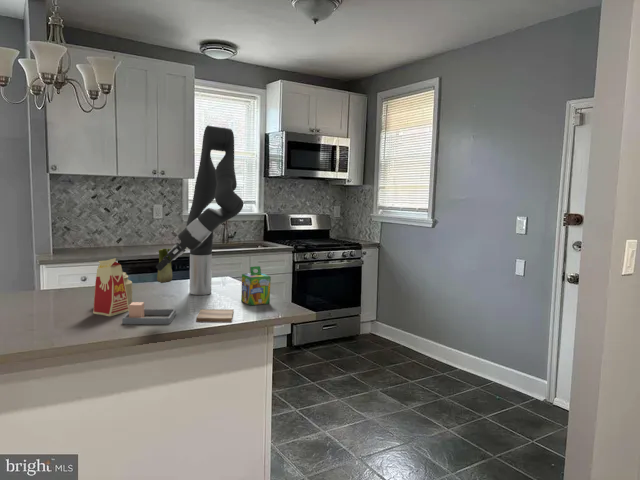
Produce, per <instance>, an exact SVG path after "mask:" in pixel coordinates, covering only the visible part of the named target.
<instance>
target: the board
mask: <svg viewBox="0 0 640 480" xmlns="http://www.w3.org/2000/svg"><path fill="white" fill-rule="evenodd" d="M233 316H234V309H229V308H228V309H227V308H226V309H225V308H223V309H216V308H215V309H214V308H213V309H211V308H210V309H209V308H208V309H205V308H204V309H203V308H202V309H200V310H199V312H198V313H197V316H196V319H195V322H196V323H197V322H202V323H203V322H207V323H208V322H216V323H217V322H220V323H221V322H227V323H228V322H229V323H231V322H233V321H232V320H233Z"/></svg>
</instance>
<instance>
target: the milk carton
mask: <svg viewBox="0 0 640 480" xmlns="http://www.w3.org/2000/svg"><path fill="white" fill-rule="evenodd" d="M116 260H117V258H116V257H114V258H111V259H107V260H98V261H97V262H98V263H99V264H98V267H97V268H96V273H95V274H96V276H95V282H94V283H95V284H94V296H93V311H92V312H93V314H94V315H100V316H105V317H113V316H116V315H120V314H124V313H126V312H127V313H128V312H129V305H128V298H127V293H126V287H125V282H124V277H123V272H124V271H123V268H122V264H120V263H119V262H117V261H116Z"/></svg>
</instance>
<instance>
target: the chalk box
mask: <svg viewBox="0 0 640 480" xmlns="http://www.w3.org/2000/svg"><path fill="white" fill-rule="evenodd" d="M249 268H250V270H249V271H250V273H249V272H248V273H242V274H241V297H240V298H241V302H243V303H244V304H247V305H249V306H257V305H259V306H260V305H270V302H271V278H272V277H271V276H270V275H268V274H266V273H262V268H261V266H260V265H257V266H250V267H249ZM255 270H257V272H255Z"/></svg>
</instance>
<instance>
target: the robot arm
mask: <svg viewBox="0 0 640 480" xmlns="http://www.w3.org/2000/svg"><path fill="white" fill-rule="evenodd" d="M203 131H204V132H203V135H202V136H203V137H202V144H201V145H202V146H201V153H200V161H199V165H198V171H197V175H196V180H195V185H194V190H193V197H192V202H191V207H190V210H189V214H188V217H187V221H186V227H185V228H183V230H181V231H180V232H179V233H178V235H177V238H178V239H179V241H180V242H177V243H175V244H174V245H173V246H172V248H170V249H171V250H170V251H169V252H168V253H167V255H166V256H165V257H164V258H163V260H162V261H161V262H160V263H159V262H158V263H157V264H156V265H155V268H156V269H157V271H158V270H159V271H161V270H162V269H163V268H164V267H165V266H166V265H167V264H169V263H170V262H171V263H172V262H173V261H175V260H176V259H178V257H180V256H182V255H183V254H184V253H185V252H186V251H187V250H186V249H189V294H190V295H192V296H193V295H195V296H205V295H210V294H212V280H213V279H212V274H213V273H212V272H213V271H212V270H213V269H212V266H213V265H212V264H213V262H212V261H213V260H212V259H213V257H212V256H213V253H212V252H213V244H214V243H213V241H214V230H216V229H217V228H218V227H219V226H220V225H221V224H223V223H225V222H227V221H229V220H230V219H232V218H235V217H236V216H237V215H238V214H240V212H242V210H243V207H244V200H243V198H242V197H240V196H239V195H238V194H237V193H236V192H235V190H236V189H237V187H238V186H237V185H238V182H237V177H236V171H235V136H234V131H233V130H232V128H229V127H226V126H220V125H219V126H218V125H213V124H208V125H206V127H205V129H204V130H203ZM212 151H218V152H225V154H224V156H223V157H222V159H220V161H219V162H218V163H217V165H216V167H215V165H214V163H213V160H212V157H211V154H212V153H211V152H212ZM214 200H215V203H216V204H217V206H219V207H220V208H218V209H214V208H211V207H209V208H207V207H208V206H210V204H211V203H213V201H214ZM168 256H170V257H171V260H169V259H168V258H167V257H168Z"/></svg>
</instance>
